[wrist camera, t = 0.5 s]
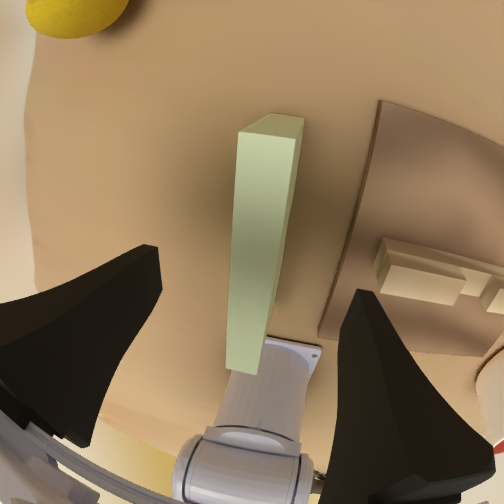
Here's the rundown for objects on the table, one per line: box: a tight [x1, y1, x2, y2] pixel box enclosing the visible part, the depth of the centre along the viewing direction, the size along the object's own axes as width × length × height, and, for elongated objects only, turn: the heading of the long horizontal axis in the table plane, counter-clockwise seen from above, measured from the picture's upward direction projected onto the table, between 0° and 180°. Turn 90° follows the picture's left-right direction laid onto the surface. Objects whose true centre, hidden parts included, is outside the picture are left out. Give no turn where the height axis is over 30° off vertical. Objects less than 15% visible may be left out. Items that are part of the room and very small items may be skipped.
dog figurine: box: [310, 470, 325, 494], centre depth 45 cm, size 12×6×8 cm, turn 71°
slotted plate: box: [226, 113, 305, 375], centre depth 16 cm, size 14×2×7 cm, turn 175°
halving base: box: [317, 100, 504, 357], centre depth 16 cm, size 18×18×4 cm
